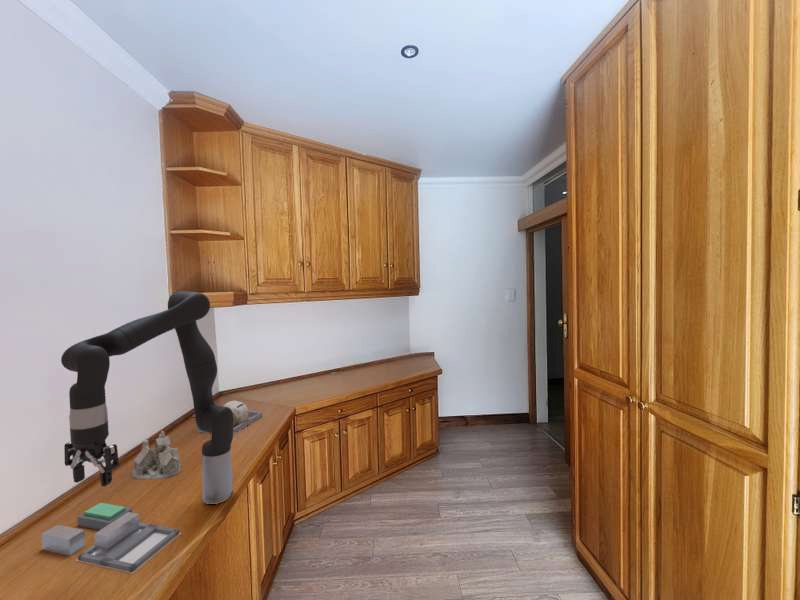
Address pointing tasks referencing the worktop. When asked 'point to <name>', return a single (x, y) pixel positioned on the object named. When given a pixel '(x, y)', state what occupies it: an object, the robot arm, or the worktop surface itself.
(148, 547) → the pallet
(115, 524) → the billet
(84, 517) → the box
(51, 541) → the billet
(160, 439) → the ceramic cottage
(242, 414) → the coin bank
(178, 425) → the worktop surface
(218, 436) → the robot arm
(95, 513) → the button
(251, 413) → the coin bank tray
